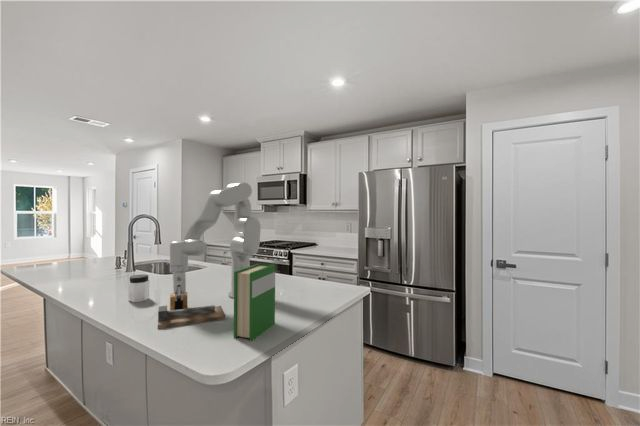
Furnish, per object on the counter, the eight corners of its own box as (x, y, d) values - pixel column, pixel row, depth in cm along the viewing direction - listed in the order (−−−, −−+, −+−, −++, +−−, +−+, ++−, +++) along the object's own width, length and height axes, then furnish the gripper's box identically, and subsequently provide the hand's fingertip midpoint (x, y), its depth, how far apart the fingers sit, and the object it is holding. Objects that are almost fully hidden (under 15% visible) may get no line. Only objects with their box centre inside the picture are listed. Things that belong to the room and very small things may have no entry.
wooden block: (186, 306, 142) (187, 291, 142) (187, 310, 136) (187, 295, 136) (170, 308, 139) (170, 293, 139) (170, 312, 133) (170, 296, 133)
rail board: (220, 309, 139) (220, 297, 139) (225, 319, 126) (225, 306, 126) (159, 316, 128) (159, 303, 128) (157, 328, 115) (157, 314, 115)
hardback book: (251, 341, 105) (252, 273, 105) (233, 338, 108) (234, 271, 107) (274, 323, 122) (275, 264, 122) (258, 321, 124) (259, 263, 124)
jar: (128, 303, 145) (128, 278, 145) (128, 299, 152) (128, 275, 152) (149, 300, 150) (150, 276, 150) (148, 296, 157) (148, 273, 157)
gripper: (188, 271, 131) (188, 312, 131) (187, 264, 147) (187, 301, 147) (169, 272, 128) (169, 314, 128) (170, 265, 143) (170, 303, 144)
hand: (178, 307), depth 137 cm, fingers closed on wooden block, 6 cm apart
